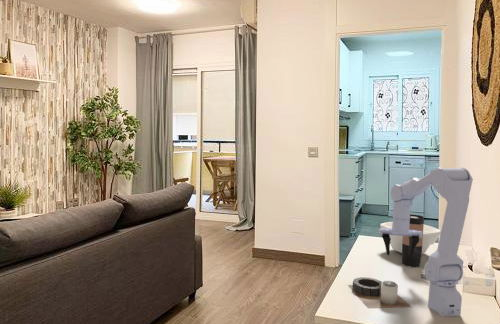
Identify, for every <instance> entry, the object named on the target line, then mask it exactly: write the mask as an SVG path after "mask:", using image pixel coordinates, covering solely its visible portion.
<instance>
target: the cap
mask: <svg viewBox="0 0 500 324" xmlns="http://www.w3.org/2000/svg"><path fill="white" fill-rule="evenodd" d="M398 290H399V285H398V283H396V282H394V281H392V280H383V281H382V283H381V295H380V301H381V302H382V303H384V304H388V305H394V304H397V294H398Z"/></svg>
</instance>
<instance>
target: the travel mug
mask: <svg viewBox="0 0 500 324" xmlns="http://www.w3.org/2000/svg"><path fill="white" fill-rule="evenodd" d="M424 221H425V218H424V216H422V215H418V214H411V213H410V223H409V230H415V231H421V232H422V238H420V237H419V242H418V243H417V245H416V247H415V249H414V251H413V254H412V257H409V255H408V252H409V236H403V240H402V253H401V264H402V265H403V266H405V267H409V268H419V267H420V266H421V261H422V243H423V227H424V225H425V223H424Z"/></svg>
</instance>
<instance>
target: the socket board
mask: <svg viewBox="0 0 500 324" xmlns="http://www.w3.org/2000/svg"><path fill="white" fill-rule="evenodd" d="M382 282H383V281H381V280H379V279H376V278H372V277H365V276H363V277H362V276H361V277H356V278H354V279H353V281H352V284H348V285H347V286H348V288H349V289H351V291H352V292H353V293H354V294H355V295H356V297H357V298H358V299H359V300H360V301H361V303H362V304H364V305H365V307H366V308H367V309H398V308H399V309H400V308H404V309H405V308H409V309H410V308H412V306H411V305H410V304H409V303H407V301H406V300H404V299H403V298H402V297H401V296H400V295H399V294H398V293H397V304H394V305H388V304H384V303H382V302H381V301H380V295H381V283H382Z"/></svg>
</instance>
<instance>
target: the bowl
mask: <svg viewBox="0 0 500 324" xmlns="http://www.w3.org/2000/svg"><path fill="white" fill-rule="evenodd" d="M392 223H393V221H386V222H383V223H382V222H381V223H380V225H379V226H380V228H381V229H387V228H392ZM440 235H441V229H438V228H436V227H434V226H430V225H429V224H428V225H427V224H424V227H423V243H422V254H425V253H426V252H427V251H428V249H429V248H430V246H431V245H434V244H435V242H436V241H437V239H438V238H440ZM389 236H390V238H391V240H390V248H391V249H393V250H395V251H396V252H398V253H401V254H402V240H403V236H397V235H389ZM422 254H421V255H422Z"/></svg>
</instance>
